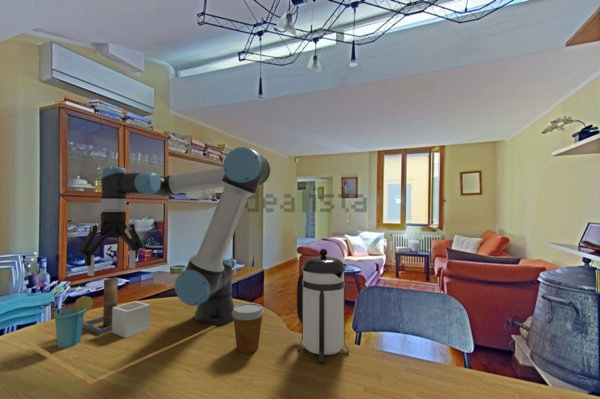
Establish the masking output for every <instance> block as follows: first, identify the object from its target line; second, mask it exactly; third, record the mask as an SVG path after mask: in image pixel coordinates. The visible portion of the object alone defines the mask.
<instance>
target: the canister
mask: <svg viewBox="0 0 600 399" xmlns="http://www.w3.org/2000/svg"><path fill="white" fill-rule="evenodd" d="M150 327H151V304H149V303H145V302H141V301H138V300H135V301H132V302H127V303H124V304H121V305H117V306H116V307H113V309H112V331H111V333H112V334H115V335H118V336H119V337H122V338H129V337H132V336H134V335H138V334H139V333H140V334H141V333H142V332H145V331H148V330H150Z"/></svg>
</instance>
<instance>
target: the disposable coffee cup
mask: <svg viewBox="0 0 600 399" xmlns="http://www.w3.org/2000/svg"><path fill="white" fill-rule="evenodd" d="M264 313H265V311H264V309H263V306H262V304H259V303H254V302H248V303H240V304H237V305H234V309H233V312H232V315H233V318H234V320H233V323H234V324H233V326H234V336H235V345H236V351H237V352H239V353H241V354H243V353H244V354H250V353H254V352H256V351H257V350H259V345H260V344H259V343H260V335H261V329H262V323H263V322H262V321H263V316H264Z"/></svg>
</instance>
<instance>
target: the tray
mask: <svg viewBox="0 0 600 399" xmlns="http://www.w3.org/2000/svg"><path fill="white" fill-rule="evenodd" d="M99 323H103V316H100V317H97V318H93V319H90V320H86V321H83V325H82V329H86V330H88V331H91V332H92V333H95V334H96V335H100V336H101V335H104V334H107V333H110V332H111V333H112V326H109V327H103V328H100V327H98V326H95V325H97V324H99Z"/></svg>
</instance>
